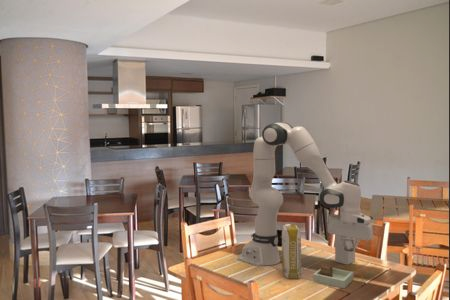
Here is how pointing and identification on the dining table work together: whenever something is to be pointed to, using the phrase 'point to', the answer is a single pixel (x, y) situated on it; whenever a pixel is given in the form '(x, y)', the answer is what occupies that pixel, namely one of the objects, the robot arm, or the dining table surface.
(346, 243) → the aluminium bushing
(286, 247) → the juice carton
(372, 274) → the dining table surface
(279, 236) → the coffee mug
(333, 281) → the tray
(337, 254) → the milk carton
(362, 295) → the dining table surface
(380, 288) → the dining table surface
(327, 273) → the walnut block
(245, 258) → the robot arm
